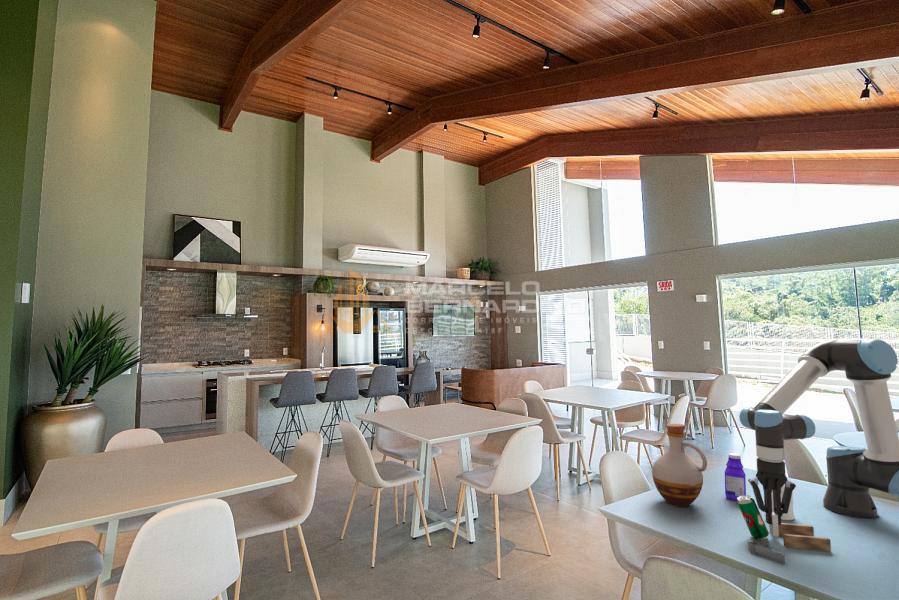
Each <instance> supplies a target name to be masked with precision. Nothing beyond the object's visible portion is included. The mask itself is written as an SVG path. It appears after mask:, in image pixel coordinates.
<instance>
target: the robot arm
mask: <svg viewBox="0 0 899 600" xmlns="http://www.w3.org/2000/svg"><path fill="white" fill-rule="evenodd" d="M898 362H899V360H898V356H897V353H896V351H895V349H894V348H893V347H892V345H891V344H889V343H887V342H886V341H885V340H882V339H878V338H877V339H876V338H875V339H874V338H866V337H865V338H862V337H861V338H829V339H826V340H823V341H821V342H819V343H817V344H815V345H812V347H810V348H809V349H807V350H806V351H805V352H803V354H802V355H801V356H799V358H798V359H797V364H796V365H795V366H793V368H792V369H791V370H790V371H789V372H788V373H787V374H786V375H785V376H784V377H783V378H782V379H781V380H780V381H779V382H778V383H777V384H776V385H775V386H774V387H773V388H772V389H771V390H770V391H769V392H768V393H767V394H766V395H765V396H764V397H763V398H762V399H761V400H760V401H759V402H758V403H757V404H756V405H755V406H754V407H749V406H748V407H744V408H742V409H741V411H740V413H739V422H740V423H741V425H742V426H743V427H745V428H747V429H750V430H753V431H754V432H755V433H754V434H755V435H754V436H755V451H756V452H755V453H756V454H755V455H756V457H757V458H756V473H755V477H753V478H748V481H747V482H748V483H749V484H750V485H751V488H752V491H753V494H754V498H755V502H756V505H757V507H758V510H759V511H761V512H763V513H765V522H766V523H767V525H769V530H768V531H769V535H771V536H772V537H777V538H778V537H779V536H780V535H779V531H778V525H781V523H782V520H781V516H782V515H783V514H784V513H785V514H787V513H788V509H789V505H790V500H791V496H792V494H793V491H794V490H795V488H796V487H797V485H796V483H794V482H792V481H791V480H788V478H787V475H786V462H785V460H786V457H785V456H786V455H785V441H787V440H806V439H810V438H812V437H813V436H815V433H816V431H817V430H816V424H815V422H814V421H813V419H812V418H811V417H809V416H807V415H803V414H802V415H799V414H795V415H794V414H793V415H792V414H788V413H787V414H786V412H787V411H788V409H790V408H791V406H793V405H794V403H795V402H796V401H797V400H798V399H799V398H800V397H801V396H802V395H803V394H804V393H805V392H806V391H807V390H809V388H810V387H811V386H812V385H813V384H814V383H815V382H816V381H817V380H818V379H819V378H824V377H826V375H827V374H828V373H830V372H833V371H843V372H844V373H845V377H846V379H847V380H849V381H850V382H851V383H852V384H853V388H854V393H855V396H856V402H857V405H858V406H857V407H858V411H859V415H860V416H859V417H860V421H861V424H862V425H861V426H862V429H863V434H864V439H865V443H866V448H864V447H859V446H850V445H844V446H843V445H833V446H829V447H828V448H827V449H826V457H825V459H826V468H827V469H826V470H827V471H826V473H827V483H828V484H827V488H826V491H825V493H824V496H823V499H822V502H823V507H824V508H826V509H827V510H828V511H832V512H835V513H836V514H837V513H838V514H840V515H845V516H850V517H854V518H855V517H856V518H863V519H871V518H872V519H873V518H877V517H878V508H877V506H876V504H875V502H874V499H873V497H872V495H871V493H870V489H871V490H875V491H878V492H881V493H885V494H888V495H890V496H893V497H895V496H896V497H899V434H898V429H897V425H896V421H895V415H894V411H893V410H894V409H893V406H892V402H891V396H890V393H889V388H888V384H887V381H889V379H891V378H892V374H893V373H894V372H895V371H896V369H897V368H898V366H897V365H898V364H899V363H898ZM759 484H761V486H762V490H763V496H762V493H761V490H760V488H759ZM784 484H785V488H784V492H783V497H782V501H781V488H782V487H783V485H784ZM772 490H773V506H774V512H775V513H774V512H772V496H771V493H772ZM763 499H764V500H763ZM779 538H780V537H779Z"/></svg>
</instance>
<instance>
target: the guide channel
mask: <svg viewBox="0 0 899 600" xmlns="http://www.w3.org/2000/svg"><path fill="white" fill-rule="evenodd" d="M778 531H779V536H782V539H783V540H782V541H783V546H784V547H785V548H791V549H800V550H801V549H802V550H809V551H810V550H812V551H813V550H814V551H821V552H822V551H823V552H832V544H831V543H832V542H831V539H830V537H825V536H824V537H823V536H815V532H814V531H815V529H814V526H813V525H810V524H801V523H800V524H798V523H787V522H781V525H778Z"/></svg>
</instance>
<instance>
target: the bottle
mask: <svg viewBox="0 0 899 600" xmlns="http://www.w3.org/2000/svg"><path fill="white" fill-rule="evenodd" d="M727 457H728V458H727V462H726V464H725V465H726V468H725V470H724V494H725V497H726V498H727V499H729V500H733V501H737V498H738V497H740V496H745V495H747V487H746V486H747V484H746V482H747V481H746V480H747V479H746V476H747V475H746V473H745V471H744V465H743V463H742V460H741V457H742V456H741V454H738V453H733V452H730V453H728V456H727Z"/></svg>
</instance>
